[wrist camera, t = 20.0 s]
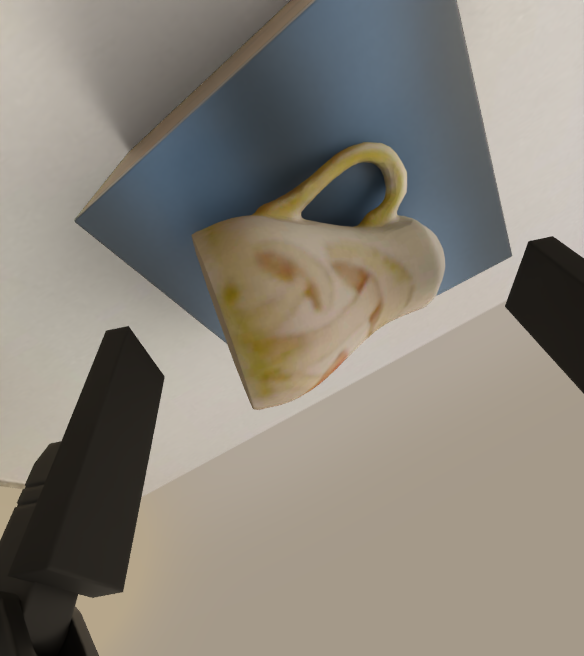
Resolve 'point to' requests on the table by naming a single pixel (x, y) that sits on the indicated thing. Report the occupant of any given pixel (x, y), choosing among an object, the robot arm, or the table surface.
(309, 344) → the mug
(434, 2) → the blue lid
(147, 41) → the table surface
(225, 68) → the storage box
